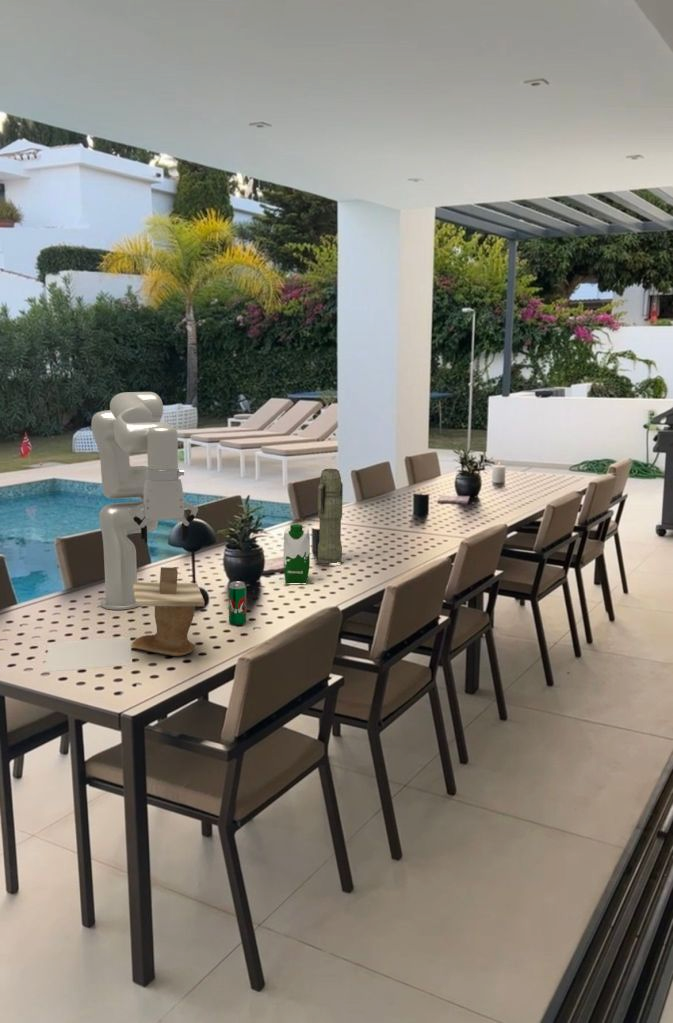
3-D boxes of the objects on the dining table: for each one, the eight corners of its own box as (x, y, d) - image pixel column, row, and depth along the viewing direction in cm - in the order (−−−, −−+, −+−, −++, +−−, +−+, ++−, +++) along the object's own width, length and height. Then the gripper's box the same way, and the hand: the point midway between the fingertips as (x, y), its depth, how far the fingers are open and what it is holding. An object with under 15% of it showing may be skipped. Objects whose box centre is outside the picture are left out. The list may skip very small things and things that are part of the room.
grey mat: (49, 644, 229) (49, 642, 229) (130, 638, 234) (129, 636, 234) (44, 674, 209) (43, 671, 209) (132, 666, 214) (132, 664, 214)
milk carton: (282, 585, 287) (282, 526, 283) (284, 577, 296) (284, 521, 292) (308, 585, 287) (309, 527, 283) (310, 578, 296) (310, 521, 292)
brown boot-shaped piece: (205, 648, 228) (204, 593, 225) (179, 662, 217) (177, 606, 214) (158, 639, 234) (156, 586, 231) (130, 653, 223) (128, 598, 220)
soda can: (246, 620, 250) (246, 580, 248) (245, 626, 246) (245, 585, 243) (229, 620, 250) (229, 580, 248) (228, 626, 245) (227, 585, 243)
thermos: (310, 564, 313) (310, 470, 307) (329, 558, 323) (329, 466, 316) (330, 568, 308) (331, 472, 302) (348, 562, 318) (349, 468, 311)
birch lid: (132, 586, 228) (134, 560, 227) (196, 587, 233) (198, 561, 232) (135, 605, 212) (137, 577, 211) (204, 606, 217) (206, 578, 216)
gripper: (196, 471, 222) (197, 535, 226) (127, 473, 218) (129, 538, 221) (199, 476, 215) (200, 542, 219) (128, 478, 211) (130, 545, 214)
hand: (164, 540), depth 220 cm, fingers open, 9 cm apart
